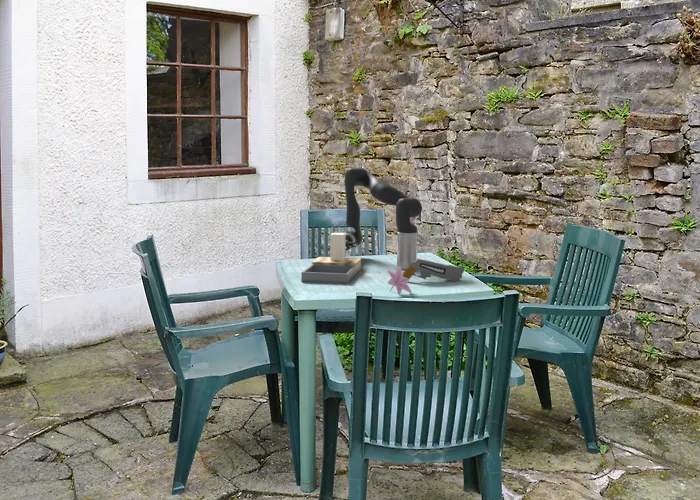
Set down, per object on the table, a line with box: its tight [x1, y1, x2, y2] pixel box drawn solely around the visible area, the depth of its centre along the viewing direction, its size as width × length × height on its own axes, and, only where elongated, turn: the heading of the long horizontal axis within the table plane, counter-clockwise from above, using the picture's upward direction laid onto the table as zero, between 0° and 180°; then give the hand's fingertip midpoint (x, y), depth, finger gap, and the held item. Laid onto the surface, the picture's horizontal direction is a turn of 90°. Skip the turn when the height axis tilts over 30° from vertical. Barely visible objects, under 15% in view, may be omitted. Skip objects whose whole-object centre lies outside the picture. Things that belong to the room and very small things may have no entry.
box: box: [300, 263, 357, 284], centre depth 327 cm, size 20×22×4 cm
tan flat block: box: [311, 256, 362, 275], centre depth 346 cm, size 20×16×5 cm
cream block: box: [329, 232, 346, 261], centre depth 347 cm, size 6×6×12 cm
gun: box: [402, 258, 465, 282], centre depth 323 cm, size 3×25×15 cm, turn 100°
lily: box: [387, 266, 412, 296], centre depth 298 cm, size 12×12×10 cm
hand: (340, 246), depth 354 cm, fingers closed
